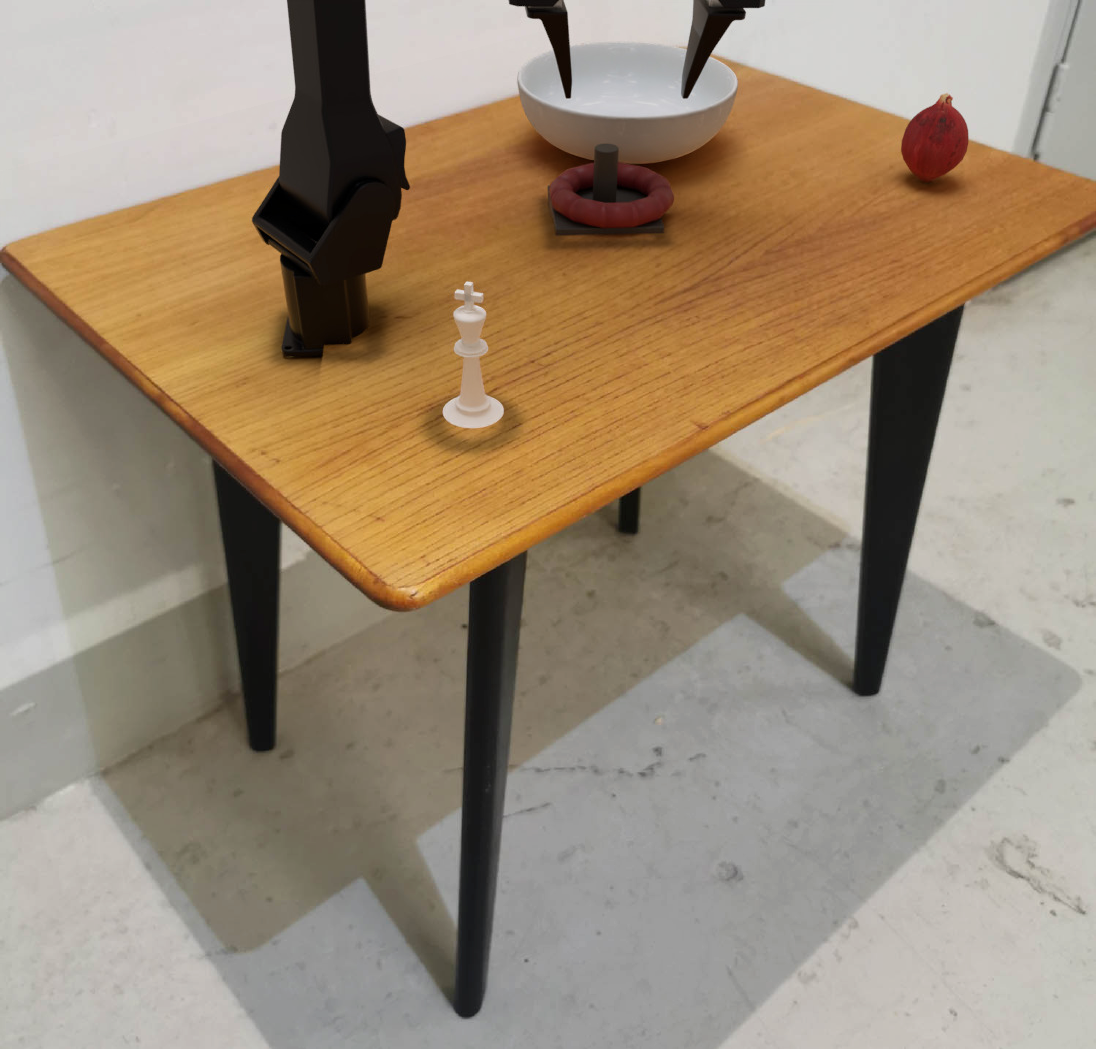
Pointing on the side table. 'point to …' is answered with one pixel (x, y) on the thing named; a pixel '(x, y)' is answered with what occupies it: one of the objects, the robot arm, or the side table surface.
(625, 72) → the serving bowl
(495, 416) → the chess piece
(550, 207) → the post
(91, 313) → the side table surface
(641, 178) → the ring
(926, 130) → the onion
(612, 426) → the side table surface
